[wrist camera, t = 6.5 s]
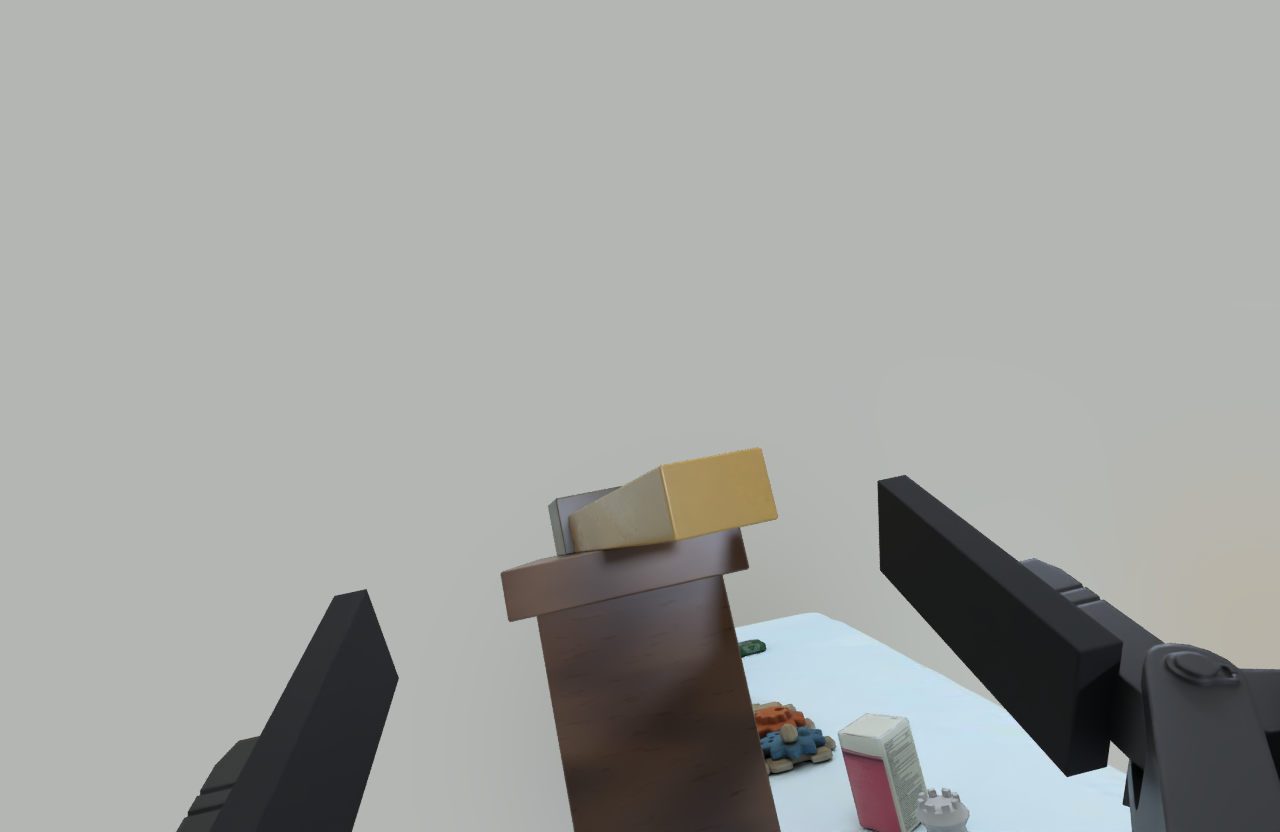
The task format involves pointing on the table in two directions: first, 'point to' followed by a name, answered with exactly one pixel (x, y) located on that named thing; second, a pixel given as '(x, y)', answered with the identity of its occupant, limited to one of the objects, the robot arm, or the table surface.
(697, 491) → the bar
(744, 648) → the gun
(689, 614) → the post
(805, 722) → the gear puzzle
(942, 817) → the rook chess piece
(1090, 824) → the table surface
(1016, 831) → the table surface
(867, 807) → the small box
